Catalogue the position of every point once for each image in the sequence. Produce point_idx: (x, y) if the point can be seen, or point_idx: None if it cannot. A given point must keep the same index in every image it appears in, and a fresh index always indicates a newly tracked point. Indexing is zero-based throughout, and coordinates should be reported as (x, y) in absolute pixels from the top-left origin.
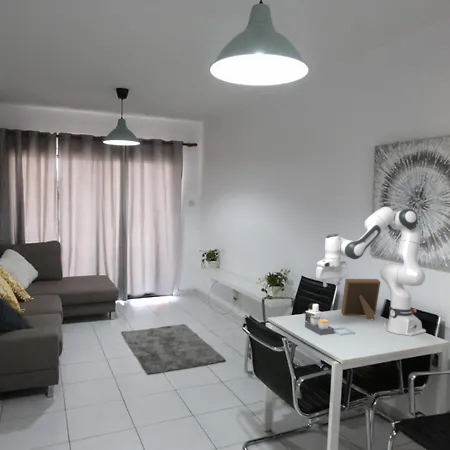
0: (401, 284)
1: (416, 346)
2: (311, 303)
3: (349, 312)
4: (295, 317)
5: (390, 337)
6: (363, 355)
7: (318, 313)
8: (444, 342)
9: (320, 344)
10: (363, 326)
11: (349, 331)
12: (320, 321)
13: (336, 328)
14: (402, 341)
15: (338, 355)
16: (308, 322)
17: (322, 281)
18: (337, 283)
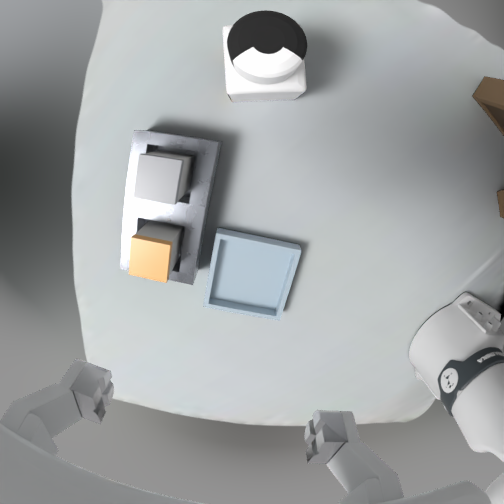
0: None
1: None
2: (256, 26)
3: (496, 117)
4: None
5: (363, 368)
6: (158, 407)
7: (272, 92)
8: (414, 418)
9: (91, 308)
10: (414, 249)
11: (283, 288)
12: (131, 254)
13: (251, 244)
14: (353, 396)
15: None
16: (143, 146)
17: (28, 404)
18: (322, 427)
